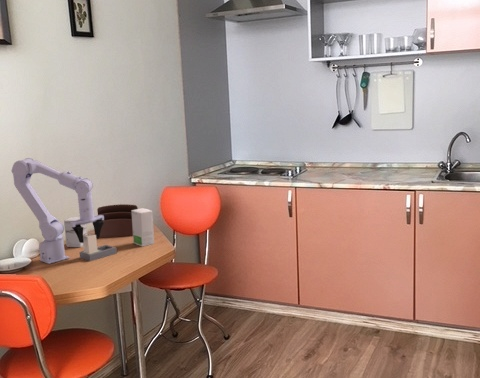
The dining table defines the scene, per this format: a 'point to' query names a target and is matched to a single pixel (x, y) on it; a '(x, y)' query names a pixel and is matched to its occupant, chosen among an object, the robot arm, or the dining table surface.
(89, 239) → the plug
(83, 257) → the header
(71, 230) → the supplement box
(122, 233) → the letter holder
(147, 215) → the skincare box
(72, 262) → the dining table surface
